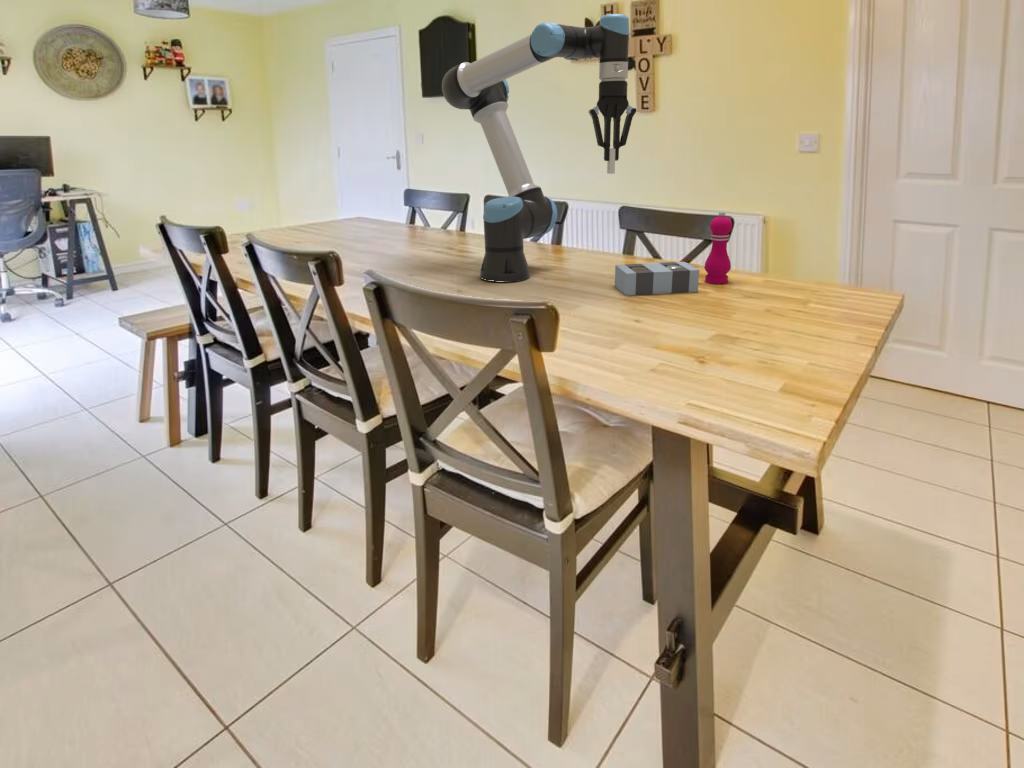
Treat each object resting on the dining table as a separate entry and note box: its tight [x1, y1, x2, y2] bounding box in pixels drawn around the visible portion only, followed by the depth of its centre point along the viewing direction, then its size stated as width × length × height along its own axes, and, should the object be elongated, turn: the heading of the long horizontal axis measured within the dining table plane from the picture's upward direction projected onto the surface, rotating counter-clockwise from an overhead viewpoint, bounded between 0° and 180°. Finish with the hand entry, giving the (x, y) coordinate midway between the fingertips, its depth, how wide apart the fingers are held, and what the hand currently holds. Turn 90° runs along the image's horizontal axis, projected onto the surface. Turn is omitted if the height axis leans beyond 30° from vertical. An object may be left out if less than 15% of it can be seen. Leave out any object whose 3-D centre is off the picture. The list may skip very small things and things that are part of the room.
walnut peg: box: [631, 267, 646, 270], centre depth 186 cm, size 4×4×6 cm
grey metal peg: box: [667, 265, 681, 269], centre depth 187 cm, size 4×4×6 cm
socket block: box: [614, 261, 700, 297], centre depth 186 cm, size 20×12×6 cm, turn 96°
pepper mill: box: [704, 210, 733, 285], centre depth 190 cm, size 7×7×20 cm
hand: (610, 173), depth 187 cm, fingers closed
